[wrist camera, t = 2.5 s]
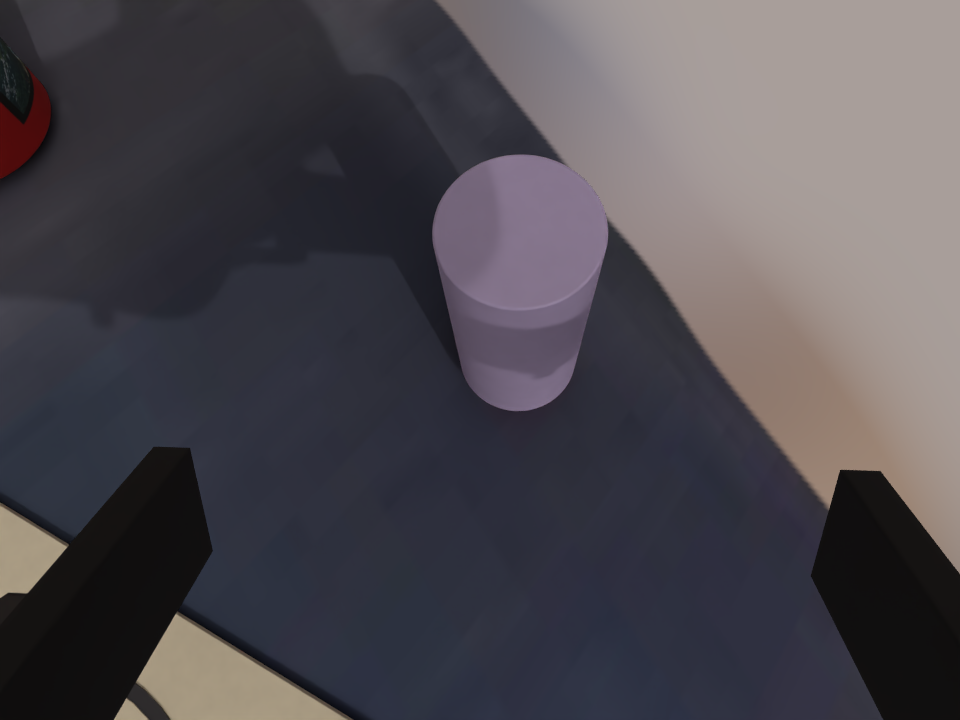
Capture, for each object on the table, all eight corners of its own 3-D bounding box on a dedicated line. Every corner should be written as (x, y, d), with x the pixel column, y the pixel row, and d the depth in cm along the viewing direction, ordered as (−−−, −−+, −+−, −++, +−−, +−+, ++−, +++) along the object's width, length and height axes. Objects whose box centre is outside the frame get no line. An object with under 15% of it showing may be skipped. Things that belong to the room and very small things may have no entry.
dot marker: (591, 342, 28) (636, 192, 18) (543, 438, 27) (561, 339, 16) (493, 297, 29) (482, 129, 18) (442, 388, 28) (399, 264, 17)
